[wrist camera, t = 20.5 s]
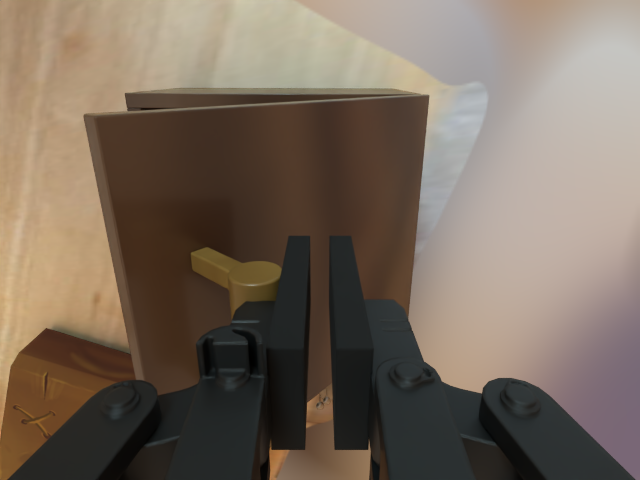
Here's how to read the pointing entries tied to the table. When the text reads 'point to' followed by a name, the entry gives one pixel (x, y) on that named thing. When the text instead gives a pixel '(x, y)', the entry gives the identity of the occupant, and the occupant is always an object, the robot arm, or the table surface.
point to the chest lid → (252, 214)
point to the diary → (53, 390)
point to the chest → (242, 96)
